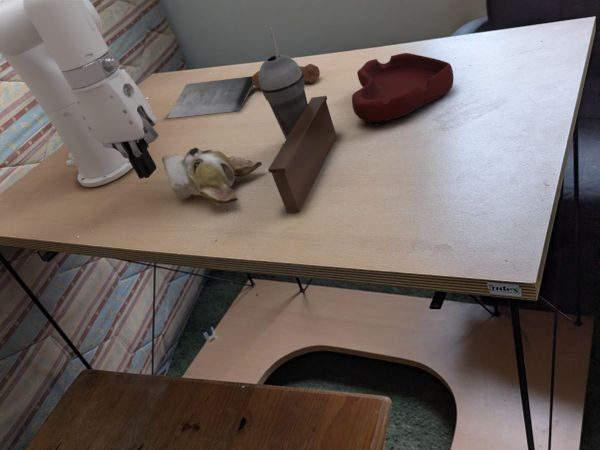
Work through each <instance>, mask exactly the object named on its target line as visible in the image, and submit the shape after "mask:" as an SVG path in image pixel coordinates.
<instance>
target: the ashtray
mask: <svg viewBox="0 0 600 450" xmlns="http://www.w3.org/2000/svg"><path fill="white" fill-rule="evenodd" d="M356 74H357V79H358V81H359V84H360V86H361V88H360V89H358V90H357V91H355V92H354V93H353V94H352V95H351V106H352V109H353V112H354V114H355V116H356V117H357V118H358V119H360V120H361V121H363V122H364V121H365V122H369V124H370V125H371V126H379V125H382V124H384V123H386V122H387V121H390V120H394V119H399V118H400V117H403V116H406V115H407V114H409V113H411V112H412V111H414V110H416V109H417V108H420V107H422V106H425V105H426V104H428V103H430V102H433V101H435V100H437V99H439V98H440V99H441V98H442V97H444V96H446V95H447V93H449V92H450V91H451V89H452V88H453V85H454V78H455V77H454V76H455V75H454V71H453V67H452V65H451V63H449V62H448V61H444V60H442V59H438V58H433V57H429V56H425V55H419V54H415V53H409V52H402V53H398V54H394V55H391V56H390V58H389V60H388V61H387V62H385V63H382V62H380V61H379V60H378V59H377V58H375V59H370V60H368V61H366V62H365V63H364V65H363V66H362V67H360V68H359V69H358V70H357V72H356Z"/></svg>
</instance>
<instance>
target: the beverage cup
mask: <svg viewBox="0 0 600 450" xmlns="http://www.w3.org/2000/svg"><path fill="white" fill-rule="evenodd" d="M269 33H270V38H271V42H272V47H273V52H274V55H272V56H269V57H268V58H267V59H266V60H264V61H263V62H262V64H261V66H260V69H259V70H258V71H259V84H260V88H259V90H260V92H262V95H263V96H264V98H265V100H266V101H267V102H268V105H269V107H270V109H271V111H272V114H273V115H274V117H275V119H276V121H277V124H278V126H279V128H280V130H281V132H282V134H283V137H284V139H285V140H286V139H287V137H288V136H289V134H290V133H291V131H292V129H293V128H294V126H295V124H296V123H297V121H298V119H299V118H300V116H301V114H302V113H303V111H304V109H305V108H306V106H307V105H308V103H309V102H308V99H307V95H306V91H305V82H304V79H303V76H304V75H303V73H302V71H301V70H300V67H299V66H300V65H299V64H298V63H297V62H296V61H295V60H294V59H293V58H291V57H290V56H288V55H285V54H279V51H278V46H277V42H276V41H277V40H276V37H275V33H274V28H273V27H269Z"/></svg>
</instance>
